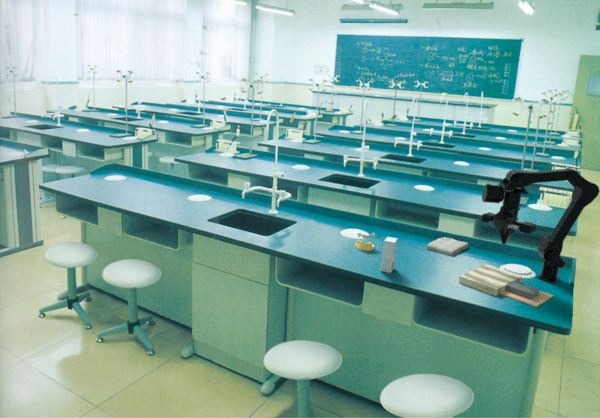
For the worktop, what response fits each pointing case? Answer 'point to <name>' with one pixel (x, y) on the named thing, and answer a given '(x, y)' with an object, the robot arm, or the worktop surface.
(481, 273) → the cream wavy flat block
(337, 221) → the worktop surface
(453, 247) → the washcloth
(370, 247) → the dental model
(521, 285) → the grey rectangular block
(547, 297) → the mat
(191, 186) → the worktop surface
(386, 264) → the skincare box
